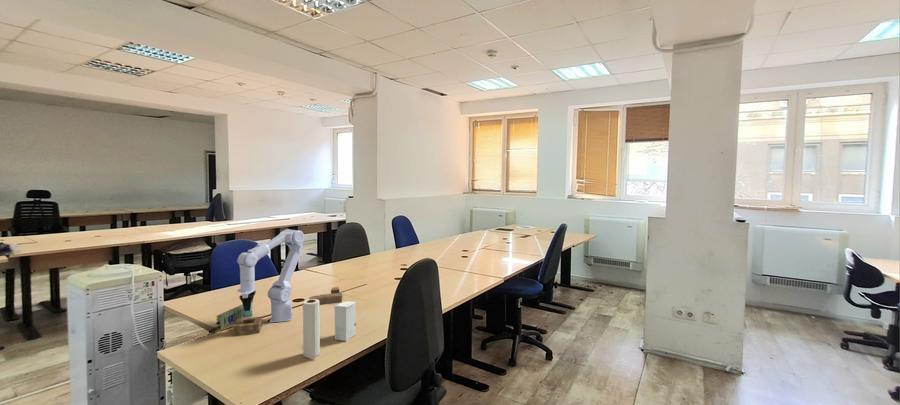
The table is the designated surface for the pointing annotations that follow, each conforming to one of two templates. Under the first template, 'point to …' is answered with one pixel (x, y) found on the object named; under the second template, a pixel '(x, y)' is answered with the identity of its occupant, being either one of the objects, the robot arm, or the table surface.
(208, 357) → the table surface
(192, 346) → the table surface
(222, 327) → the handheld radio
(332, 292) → the wooden block set
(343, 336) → the skincare box
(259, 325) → the socket block
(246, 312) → the peg
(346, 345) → the table surface
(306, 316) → the paper towel roll
